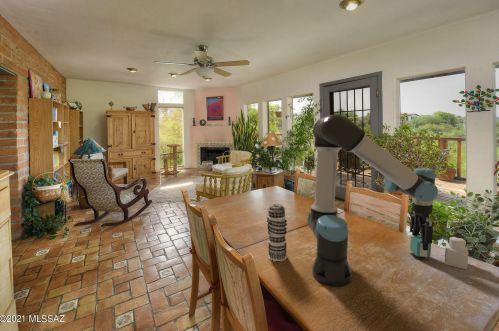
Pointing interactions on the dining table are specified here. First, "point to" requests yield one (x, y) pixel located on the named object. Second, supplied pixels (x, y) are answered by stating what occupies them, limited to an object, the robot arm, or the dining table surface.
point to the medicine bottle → (456, 252)
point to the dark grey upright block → (419, 257)
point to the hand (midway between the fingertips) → (419, 252)
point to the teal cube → (418, 246)
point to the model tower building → (277, 232)
